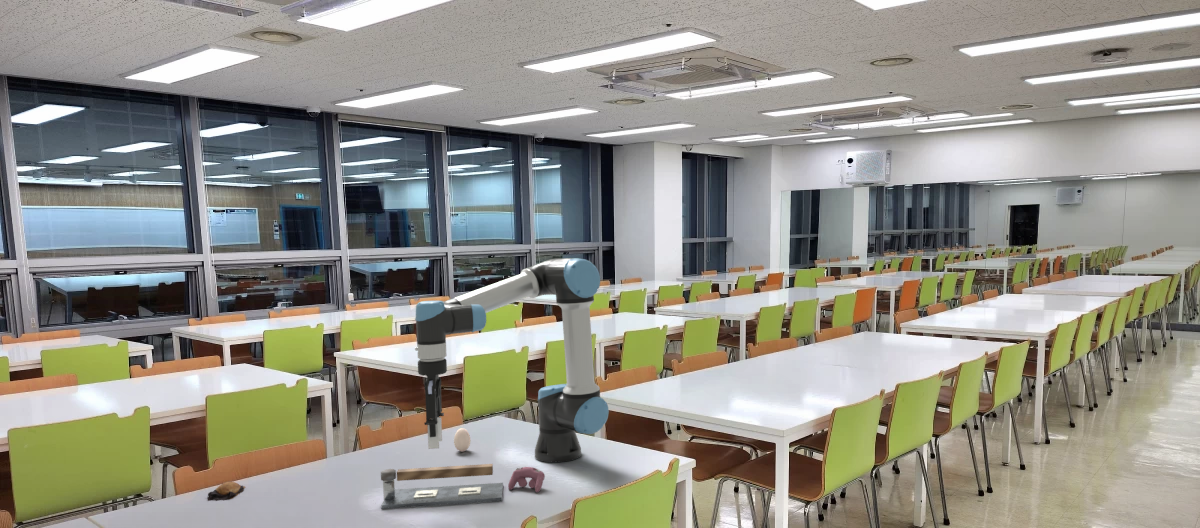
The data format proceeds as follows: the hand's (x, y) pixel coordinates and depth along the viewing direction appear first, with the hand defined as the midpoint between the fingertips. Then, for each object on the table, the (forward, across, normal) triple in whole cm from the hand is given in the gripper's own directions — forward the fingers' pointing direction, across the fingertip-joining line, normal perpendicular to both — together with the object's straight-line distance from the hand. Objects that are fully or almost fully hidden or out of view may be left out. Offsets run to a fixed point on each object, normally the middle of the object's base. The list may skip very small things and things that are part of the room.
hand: (435, 444), depth 195 cm
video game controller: (+17, -10, +24) cm, 31 cm away
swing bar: (+11, -7, -1) cm, 13 cm away
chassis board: (+17, -7, +1) cm, 18 cm away
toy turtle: (+18, -22, -63) cm, 69 cm away
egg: (+17, -50, +2) cm, 53 cm away
